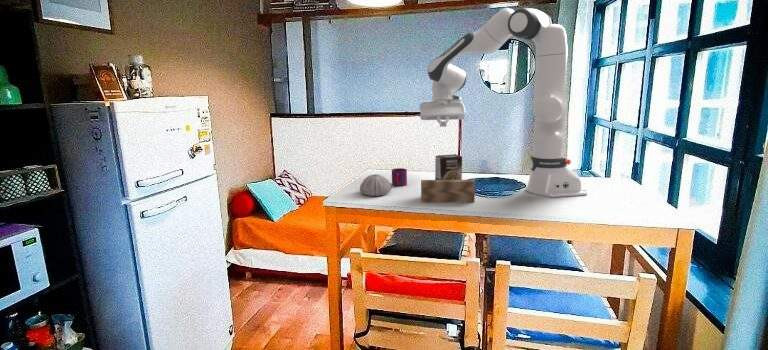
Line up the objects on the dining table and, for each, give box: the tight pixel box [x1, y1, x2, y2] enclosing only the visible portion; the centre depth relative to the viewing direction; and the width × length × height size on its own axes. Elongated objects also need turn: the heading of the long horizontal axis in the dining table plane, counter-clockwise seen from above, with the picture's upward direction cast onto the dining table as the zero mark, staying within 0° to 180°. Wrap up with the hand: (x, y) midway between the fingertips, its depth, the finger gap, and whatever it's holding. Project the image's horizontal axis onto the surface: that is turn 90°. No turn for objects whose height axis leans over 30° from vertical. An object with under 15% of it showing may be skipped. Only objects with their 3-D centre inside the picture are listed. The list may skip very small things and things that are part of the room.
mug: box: [391, 167, 408, 187], centre depth 176 cm, size 7×10×7 cm
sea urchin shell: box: [359, 173, 392, 197], centre depth 165 cm, size 13×14×8 cm
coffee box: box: [434, 153, 463, 180], centre depth 159 cm, size 9×6×16 cm
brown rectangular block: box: [420, 179, 476, 203], centre depth 153 cm, size 20×5×8 cm, turn 85°
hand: (443, 125), depth 176 cm, fingers closed
